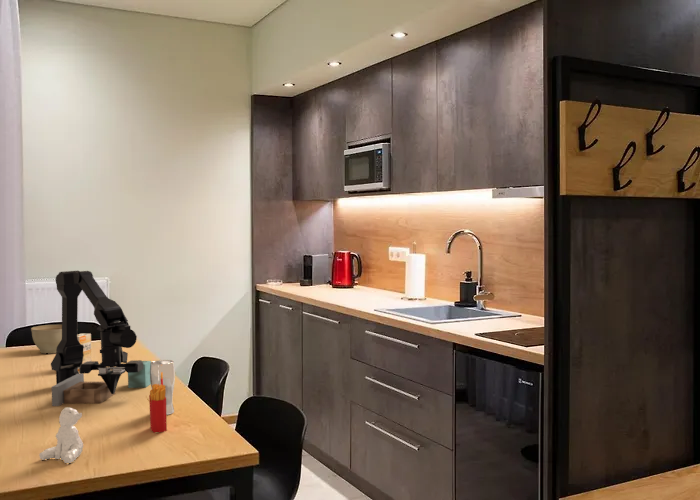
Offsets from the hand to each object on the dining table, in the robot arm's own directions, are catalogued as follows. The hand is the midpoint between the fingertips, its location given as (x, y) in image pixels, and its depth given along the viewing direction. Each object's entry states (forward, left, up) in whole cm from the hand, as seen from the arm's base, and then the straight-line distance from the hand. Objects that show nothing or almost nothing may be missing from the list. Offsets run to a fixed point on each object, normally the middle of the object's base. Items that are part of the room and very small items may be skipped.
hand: (113, 393), depth 223 cm
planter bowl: (-58, +78, -2) cm, 97 cm away
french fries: (+26, -32, -2) cm, 41 cm away
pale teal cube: (+3, +17, -2) cm, 17 cm away
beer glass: (+22, -16, -2) cm, 27 cm away
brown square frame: (-7, 0, -1) cm, 8 cm away
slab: (-14, 0, -2) cm, 15 cm away
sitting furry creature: (+10, -54, -2) cm, 55 cm away
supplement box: (-30, +44, -2) cm, 54 cm away
